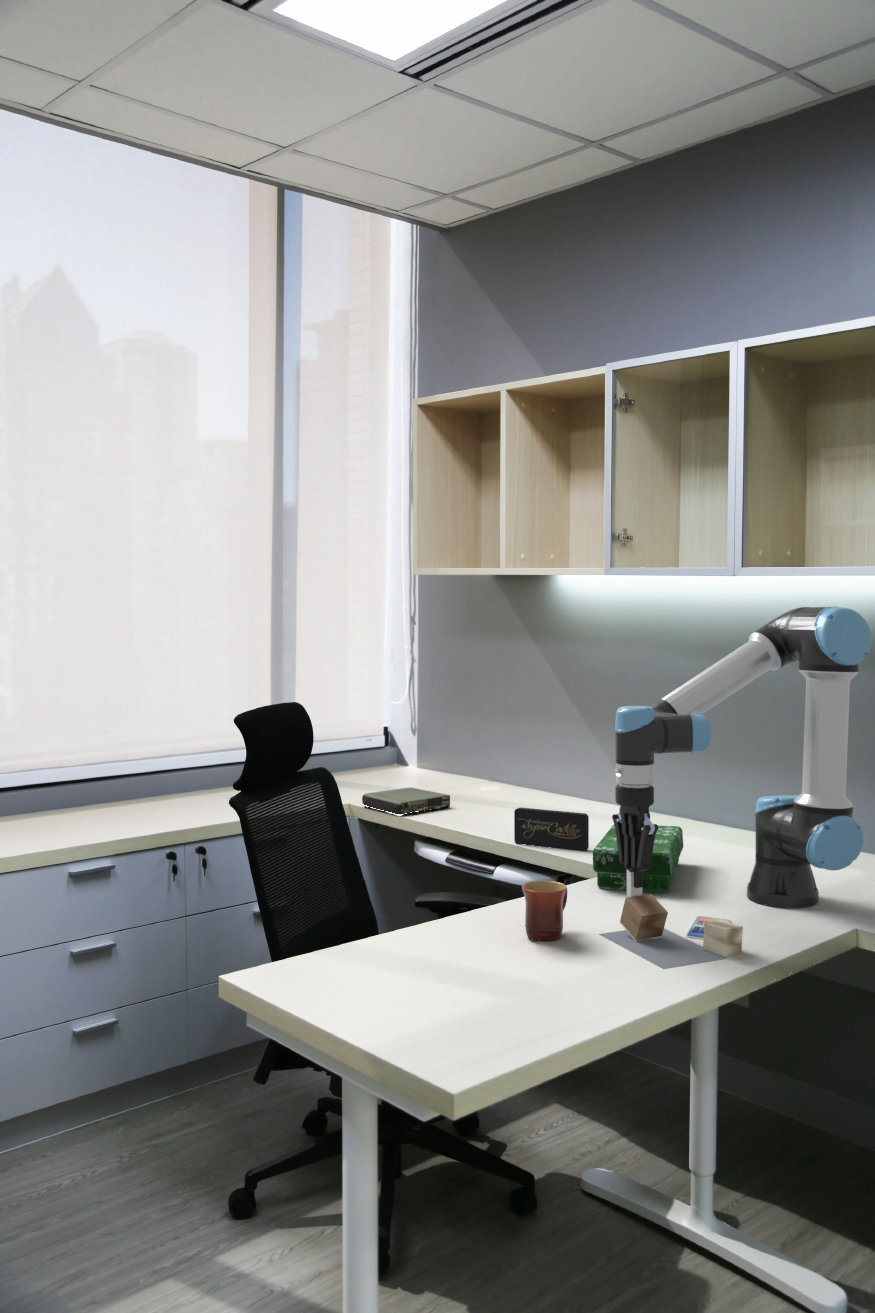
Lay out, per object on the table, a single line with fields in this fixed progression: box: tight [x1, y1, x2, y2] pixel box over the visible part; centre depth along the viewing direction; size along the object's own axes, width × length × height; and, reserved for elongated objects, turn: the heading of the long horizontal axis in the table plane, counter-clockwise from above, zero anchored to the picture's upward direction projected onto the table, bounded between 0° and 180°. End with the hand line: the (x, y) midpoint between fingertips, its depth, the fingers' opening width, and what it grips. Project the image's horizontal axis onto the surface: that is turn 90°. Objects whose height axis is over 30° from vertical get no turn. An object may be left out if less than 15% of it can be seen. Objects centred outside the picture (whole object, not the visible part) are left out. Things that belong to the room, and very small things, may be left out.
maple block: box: [702, 920, 744, 957], centre depth 197 cm, size 5×5×5 cm
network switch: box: [361, 787, 451, 814], centre depth 343 cm, size 23×23×5 cm
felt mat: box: [598, 927, 728, 970], centre depth 200 cm, size 14×22×1 cm, turn 23°
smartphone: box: [684, 915, 733, 941], centre depth 211 cm, size 7×1×15 cm
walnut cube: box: [619, 893, 669, 942], centre depth 206 cm, size 6×6×6 cm
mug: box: [521, 880, 568, 942], centre depth 208 cm, size 12×9×10 cm
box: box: [592, 824, 684, 894], centre depth 254 cm, size 32×18×10 cm, turn 162°
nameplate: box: [513, 807, 590, 852], centre depth 285 cm, size 21×2×10 cm, turn 61°
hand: (634, 902), depth 208 cm, fingers closed
